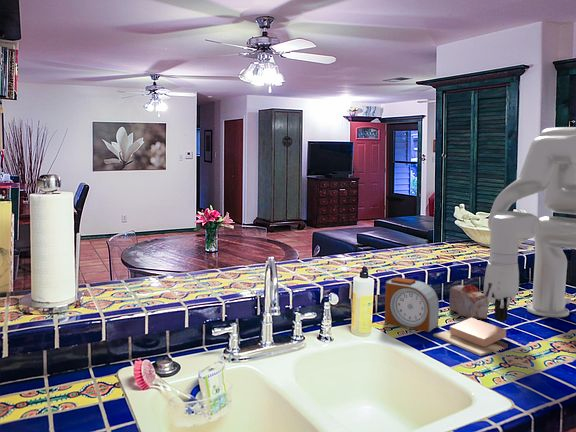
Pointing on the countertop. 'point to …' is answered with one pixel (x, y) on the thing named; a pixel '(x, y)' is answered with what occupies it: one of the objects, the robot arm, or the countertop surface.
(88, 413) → the countertop surface
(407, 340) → the countertop surface
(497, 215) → the robot arm
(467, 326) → the tile
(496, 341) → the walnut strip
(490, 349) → the tan flat rectangular panel
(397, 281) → the alarm clock
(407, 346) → the countertop surface
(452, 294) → the food item
